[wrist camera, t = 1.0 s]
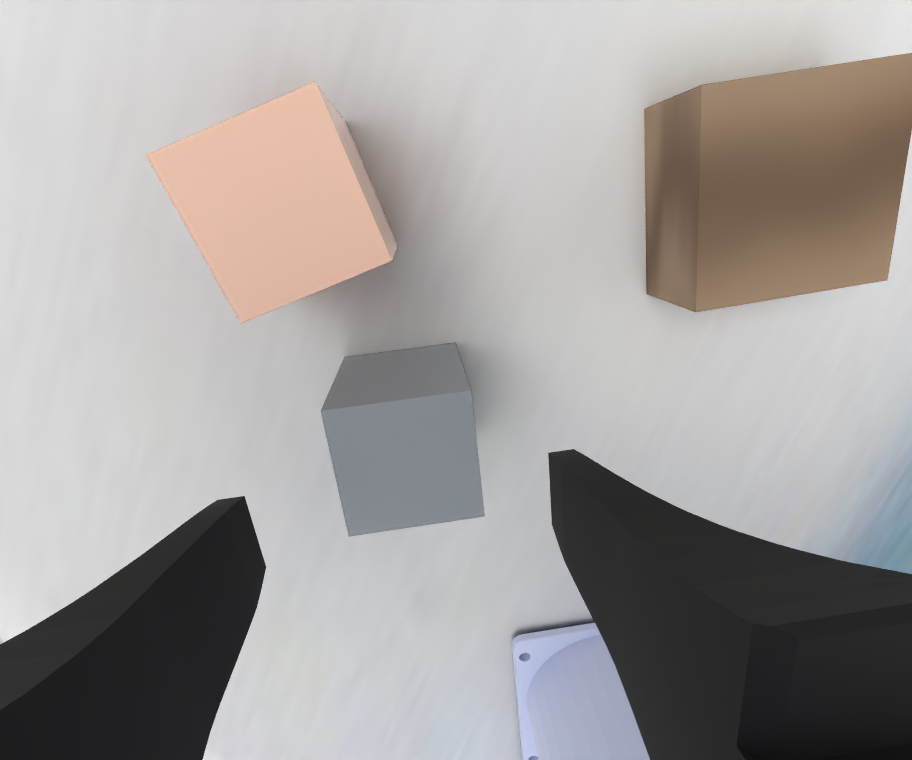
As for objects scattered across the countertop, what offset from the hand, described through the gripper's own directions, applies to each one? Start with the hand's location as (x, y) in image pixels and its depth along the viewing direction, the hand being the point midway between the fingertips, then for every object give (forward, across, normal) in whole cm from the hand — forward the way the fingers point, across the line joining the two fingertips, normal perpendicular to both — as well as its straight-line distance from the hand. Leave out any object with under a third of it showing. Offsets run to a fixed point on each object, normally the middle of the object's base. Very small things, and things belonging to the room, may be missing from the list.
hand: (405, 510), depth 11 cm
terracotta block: (+7, +2, -7) cm, 10 cm away
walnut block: (+7, -12, -6) cm, 15 cm away
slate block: (+7, 0, 0) cm, 7 cm away
